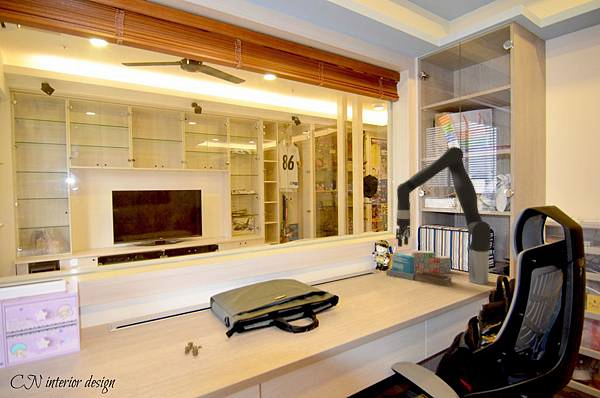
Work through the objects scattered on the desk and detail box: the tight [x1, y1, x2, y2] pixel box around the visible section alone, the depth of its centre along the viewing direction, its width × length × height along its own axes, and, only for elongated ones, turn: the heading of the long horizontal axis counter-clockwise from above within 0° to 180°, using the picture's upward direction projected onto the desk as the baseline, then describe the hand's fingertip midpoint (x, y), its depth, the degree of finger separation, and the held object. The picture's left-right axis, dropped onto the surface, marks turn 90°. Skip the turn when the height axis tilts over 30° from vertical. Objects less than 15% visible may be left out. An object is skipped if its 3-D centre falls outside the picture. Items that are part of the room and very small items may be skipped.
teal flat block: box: [391, 253, 414, 274], centre depth 183 cm, size 12×4×12 cm, turn 37°
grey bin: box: [385, 267, 420, 281], centre depth 183 cm, size 10×16×3 cm, turn 49°
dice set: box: [184, 341, 203, 355], centre depth 99 cm, size 5×5×2 cm
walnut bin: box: [414, 272, 452, 287], centre depth 172 cm, size 10×16×3 cm, turn 48°
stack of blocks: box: [411, 250, 451, 274], centre depth 193 cm, size 21×6×12 cm, turn 82°
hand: (403, 245), depth 183 cm, fingers open, 8 cm apart
